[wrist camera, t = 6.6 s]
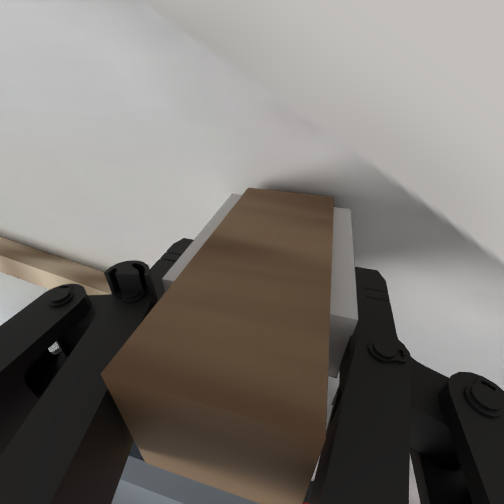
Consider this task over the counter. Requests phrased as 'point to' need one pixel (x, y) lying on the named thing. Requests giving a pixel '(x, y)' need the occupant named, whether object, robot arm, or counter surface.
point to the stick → (49, 269)
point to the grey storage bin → (165, 486)
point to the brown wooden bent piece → (238, 354)
